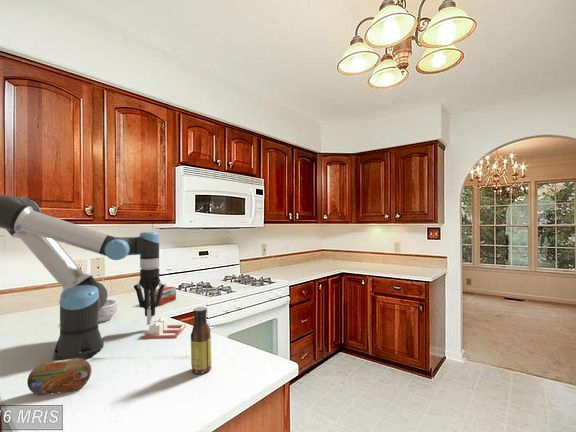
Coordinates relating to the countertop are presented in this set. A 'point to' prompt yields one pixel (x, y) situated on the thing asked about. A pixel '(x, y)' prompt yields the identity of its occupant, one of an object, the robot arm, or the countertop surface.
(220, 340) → the countertop surface
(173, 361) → the countertop surface
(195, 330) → the sauce bottle
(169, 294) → the medicine box
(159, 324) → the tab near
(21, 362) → the countertop surface
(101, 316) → the paper bowls
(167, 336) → the red compartment tray
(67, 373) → the tin
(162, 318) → the white toy block
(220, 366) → the countertop surface
